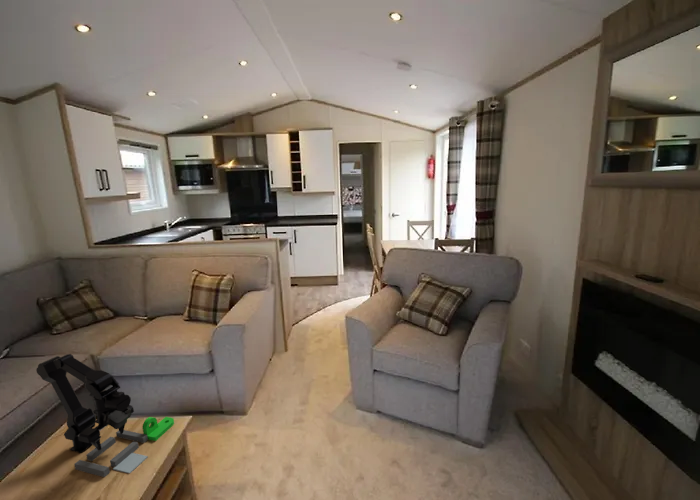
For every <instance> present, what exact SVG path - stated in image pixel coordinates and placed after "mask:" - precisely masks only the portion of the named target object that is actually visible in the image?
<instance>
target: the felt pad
mask: <svg viewBox="0 0 700 500" xmlns="http://www.w3.org/2000/svg"><path fill="white" fill-rule="evenodd" d="M148 458H149V456H148V455H144V454H139V453H135V452H133V453H131V454H130V455H129V456H128V457H127V458H125V459H124V460H123V461H122V462H121V463H120V464H118V465H117V466H115V467H113V468H112V470H114V471H117V472H121V473H126V474H129V475H130V474H131V473H132V472H134V471H135V469H137V467H139V466H140V465H141V464H142V463H143V462H144V461H145V460H147V459H148Z"/></svg>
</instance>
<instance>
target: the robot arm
mask: <svg viewBox="0 0 700 500" xmlns="http://www.w3.org/2000/svg"><path fill="white" fill-rule="evenodd" d="M35 370H36V373H37V375H38V376H39V377H40V378H41V380H43V381H45V382H47V383H50V384H51V386H52V388H53V390H54V391H55V394H56V395H57V397H58V400H59V401H60V402H61V405H62V406H63V409H64V410H65V412H66V414H67V419H66V426H67V429H66V431H65V432H64V433H63V436H64V438H65V439H66V440H68V441H69V440H70V441H72V446H71V447H69V451H72V452H74V453H75V452H76V453H79V454H80V453H83V452H85V451H86V450H87V449H89V448H90V447H92V446H94V448H97V449H98V450H101V438H102V436H101V432H100V431H103V430H104V429H105V428H106V427H107V426H110V427H111V428H113V429H114V430H118V431H119V432H120V433H121V434H122V433H123V431H124V430H125V426H126V424H127V422H128V419H129V418H130V417H132V414H133V413H134V412H135V409H134V408H135V407H134V406H133V405H131V402H132V400H131V396H130V395H128V394H125V392H124V391H118V390H120V389H121V386H120V383H119V382H118V381H117V380H116V379H115V378H114V376H113V375H112V374H111V373H109V372H106V371H104V370H97V369H96V370H95V369H93V368H91V367H90V366H88V365H86V364H85V363H83V362H81V361H80V360H79V359H77V358H75V357H74V355H73V354H71V353H67V354H64V355H63V356H59V355H56V356H54V357H51V358H50V359H47V360H45V361H43V362H42V361H41V362H40V363H39V364H38V365H37V367H36V369H35ZM67 373H68V374H70V375H71V376H73V377H74V378H76V379H78V380H79V381H81V382H82V383H83V384H84V388H85V389H86V391H88V392H89V394H88V396H89V397H93V402H94V408H95V409H94V410H92V408H86V407H84V406H83V404H82V403H81V401H80V399H79V397H78V395H77V394H76V392H75V390H74V389H73V386H72V384H71V383H70V381H69V379H68V377H67ZM95 414H96V415H95ZM96 424H98V425H97V426H96Z"/></svg>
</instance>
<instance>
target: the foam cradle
mask: <svg viewBox="0 0 700 500" xmlns="http://www.w3.org/2000/svg"><path fill="white" fill-rule="evenodd" d="M115 434H116V437H114V436H109V437H108V438H107V439H105V440H104V441H103V442H102V443H101V442H100V444H101V450H98V449H97V448H96V447H94V448H93V449H92V450H90V451H89V452H87V453H86V460H81V459H78V460H77V461H76V462H75V463H73V464H74V465H73V466H74V469H75V470H77V471H80V472H84V473H87V474H91V475H93V476H97V477H102V478H106V477H107V476H108V475H109V474H110V473H111V471H110V467H113V468H114V467H115V466H117V465H118V464H120V463H121V462H122V461H123V460H124V459H125V458H127V457H128V456H129V455H130V454H131V453H135V452H136V451H137V450H138V449H139V448H140V447H139V443H141V444H145V443H146V442H148V441H149V440H148V436H147V435H146V434H143V433H141V432H136V431H130V430H126V429H124V431H123V433H122V434H121V433H120V432H119V430H117V431H116V432H115ZM116 438H120V439H125V440H128V441H129V440H130V441H132V442H131V443H130V444H128V445H127V446H126V447H124V448H123V449H122V450H121V451H119V453H117V454H116V455H115V456H114V457H112V458H111V459H110V460H109V462H110V466H106V465H102V464H97V463H94V462H93V461H94V460H95V459H97V458H98V457H99V456H101V455H102V454H103V453H104V452H106V451H107V450H108V449H109V448H111V447H112V446H113V445H114V444H115V443H116V442H117V441H116ZM89 461H90V462H89Z"/></svg>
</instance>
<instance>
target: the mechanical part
mask: <svg viewBox="0 0 700 500" xmlns="http://www.w3.org/2000/svg"><path fill="white" fill-rule="evenodd" d="M142 423H143V424H142V434H146V435H147V436H148V440H147V441H153V442H156V441H158V440H159V439H160V438H161V437H163V435H164V434H165V433H167V432H168V430H170V429H171V428H172V427H173V426H174V425H175V420H174V418H173V417H171V416H165V417H163V419H161V420H160V421H159V422H158V419H157V418H156V417H153V416H148V417H147V418H146V419H145V420H144V421H143V422H142Z"/></svg>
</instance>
